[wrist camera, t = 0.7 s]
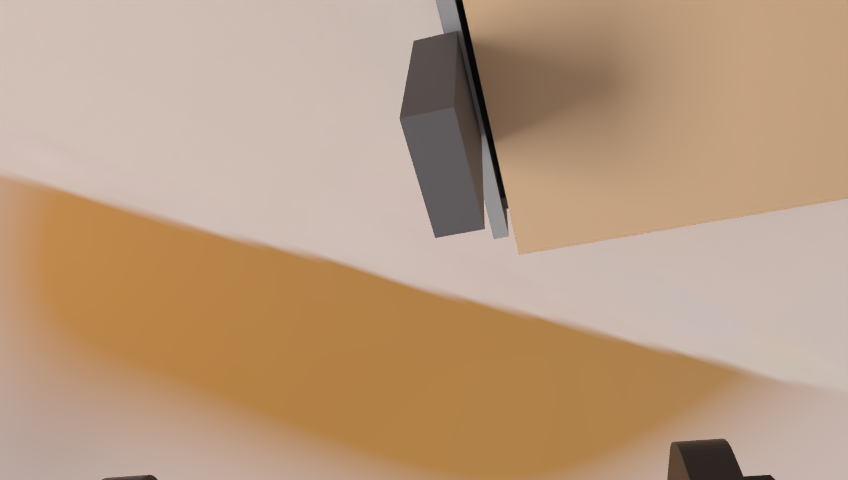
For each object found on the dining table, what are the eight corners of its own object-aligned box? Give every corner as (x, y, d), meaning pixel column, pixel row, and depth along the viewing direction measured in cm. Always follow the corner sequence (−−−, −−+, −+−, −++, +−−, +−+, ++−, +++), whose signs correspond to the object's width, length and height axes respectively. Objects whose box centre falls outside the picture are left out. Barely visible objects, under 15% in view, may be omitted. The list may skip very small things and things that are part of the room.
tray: (792, -245, 23) (1008, -235, 14) (780, 115, 30) (917, 280, 21) (390, -131, 26) (346, -58, 16) (468, 176, 33) (468, 347, 24)
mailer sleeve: (822, -271, 23) (936, -274, 18) (802, 109, 31) (877, 193, 25) (441, -161, 26) (433, -133, 20) (510, 167, 33) (519, 254, 28)
